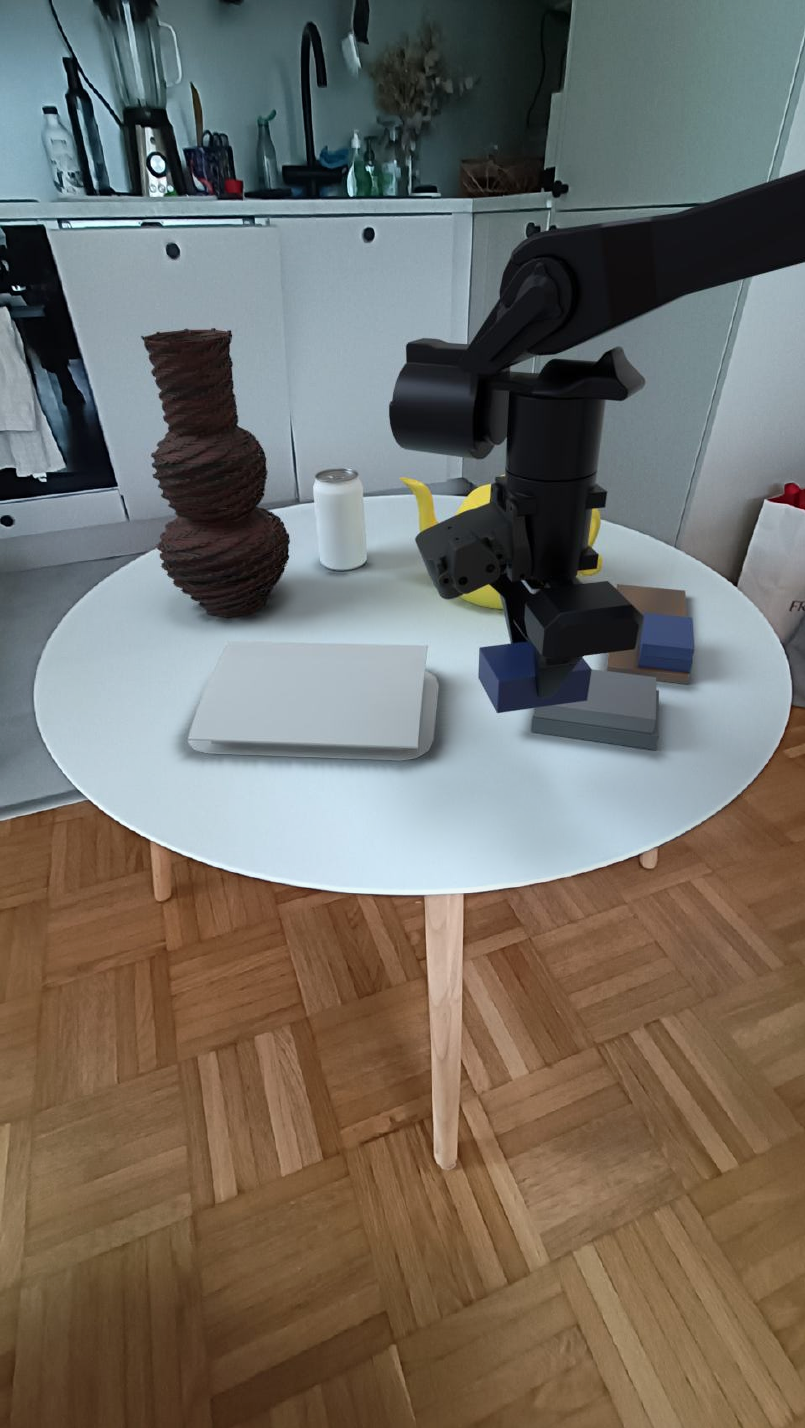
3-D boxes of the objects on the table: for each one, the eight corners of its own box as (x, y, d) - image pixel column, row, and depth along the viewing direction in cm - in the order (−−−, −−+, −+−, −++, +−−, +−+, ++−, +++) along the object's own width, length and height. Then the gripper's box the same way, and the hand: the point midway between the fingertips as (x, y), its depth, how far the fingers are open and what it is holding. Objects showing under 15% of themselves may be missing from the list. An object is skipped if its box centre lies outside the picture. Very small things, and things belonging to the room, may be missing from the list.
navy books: (639, 634, 78) (643, 611, 77) (688, 639, 77) (693, 616, 75) (637, 667, 73) (642, 643, 71) (689, 673, 71) (695, 649, 70)
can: (356, 549, 103) (350, 464, 96) (374, 565, 98) (369, 477, 91) (313, 558, 100) (304, 472, 93) (330, 575, 96) (322, 485, 89)
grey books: (656, 703, 69) (662, 675, 67) (655, 750, 63) (662, 721, 61) (541, 688, 72) (544, 661, 70) (530, 732, 66) (533, 703, 64)
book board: (683, 597, 87) (685, 590, 87) (687, 684, 72) (690, 676, 71) (616, 591, 89) (617, 583, 89) (605, 674, 74) (607, 666, 73)
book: (227, 664, 77) (221, 632, 75) (440, 670, 75) (440, 637, 73) (178, 753, 65) (168, 717, 63) (431, 762, 63) (431, 726, 61)
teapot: (390, 609, 87) (385, 498, 79) (414, 552, 101) (412, 452, 93) (602, 621, 83) (619, 504, 75) (596, 559, 97) (610, 456, 89)
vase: (146, 624, 86) (72, 344, 68) (211, 572, 98) (163, 323, 80) (262, 640, 82) (214, 347, 64) (315, 584, 94) (287, 324, 76)
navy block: (562, 666, 57) (566, 636, 56) (587, 701, 53) (592, 668, 52) (477, 678, 56) (478, 646, 55) (496, 713, 52) (498, 681, 51)
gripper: (397, 440, 52) (404, 632, 61) (465, 534, 36) (460, 770, 45) (545, 428, 53) (530, 617, 62) (668, 513, 38) (625, 745, 47)
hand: (532, 677), depth 54 cm, fingers closed on navy block, 5 cm apart
